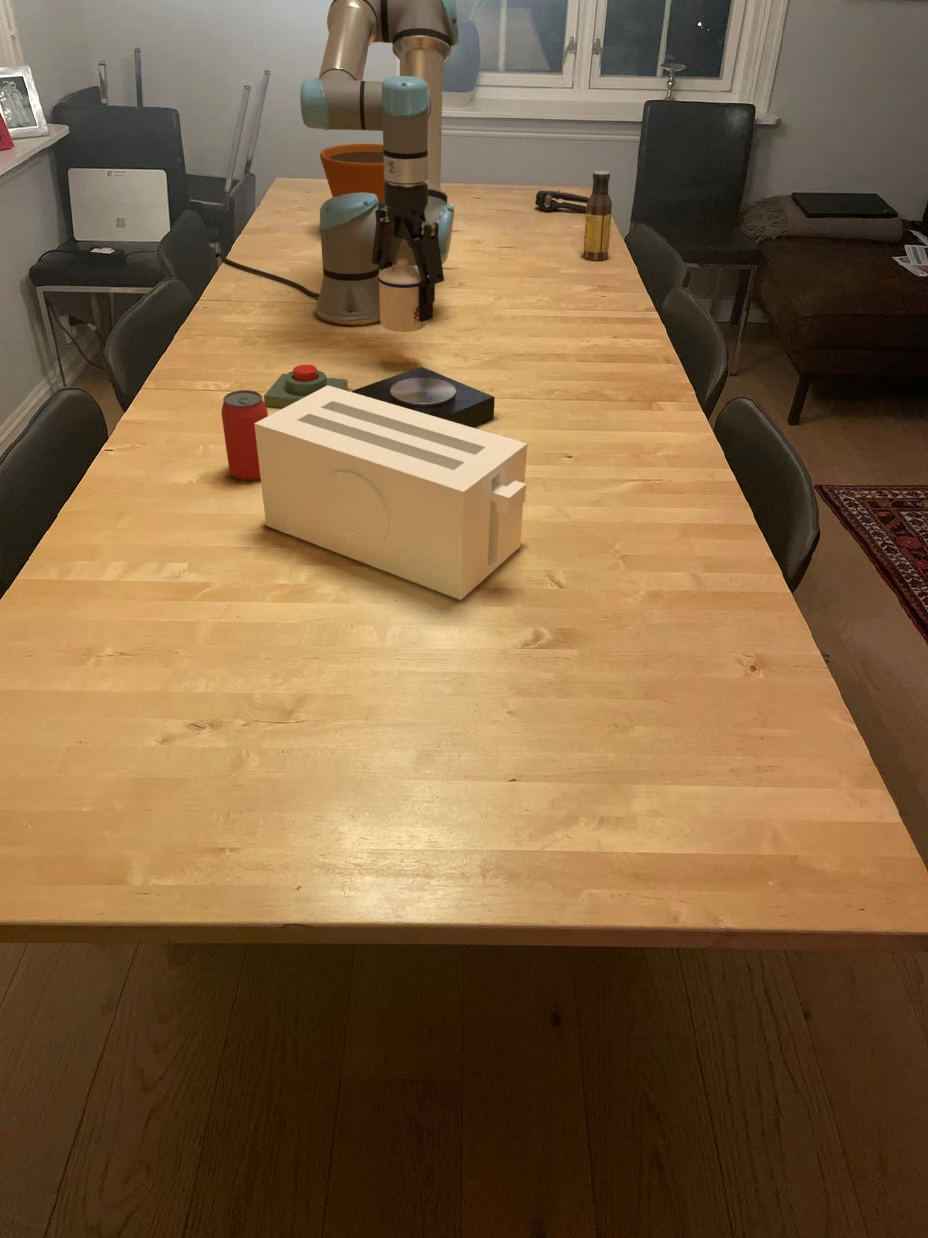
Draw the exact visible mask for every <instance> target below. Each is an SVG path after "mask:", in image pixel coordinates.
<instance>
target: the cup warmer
mask: <svg viewBox="0 0 928 1238" xmlns="http://www.w3.org/2000/svg"><path fill="white" fill-rule="evenodd" d="M351 392H353V393H356V394H359V395H363V396H366V397H370V398H373V399H376V400H380V401H383V402H387V403H390V404H394V405H397V406H400V407H404V408H407V409H411V410H414V411H417V412H421V413H424V414H428V415H431V416H434V417H438V418H441V419H445V420H448V421H451V422H455V423H458V424H462V425H465V426H468V427H472V428H475V427H477V426H481V425H483V424H484V423H487V422H489V421H492V420H494V419H495V398H496V397H495V396H494V395H492V394H489V393H487V392H484V391H481V390H479V389H477V388H475V387H472V386H469V385H467V384H464V383H462V382H460V381H457V380H455V379H452V378H450V377H448V376H446V375H443V374H441V373H438V372H436V371H433V370H431V369H429V368H426V367H424V366H418V367H415V368H412V369H410V370H407V371H404V372H402V373H398V374H395V375H392V376H390V377H387V378H383V379H382V380H378V381H375V382H373V383H370V384H366V385H364V386H362V387H359V388H356V389H353V390H351Z"/></svg>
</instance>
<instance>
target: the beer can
mask: <svg viewBox="0 0 928 1238" xmlns="http://www.w3.org/2000/svg"><path fill="white" fill-rule="evenodd" d="M222 400H223V403H222V407H221V412H220V413H221V420H222V427H223V435H224V442H225V443H224V444H225V449H226V450H225V451H226V457H227V464H228V471H229V473H230V475H232V476H233V477H234V478H237V479H239V480H243V481H255V480H261V477H260V468H259V460H258V451H257V442H256V433H255V425H254V423H256V422H258V421H260V420H262V419H264V418H266V417H268V416H269V412H268V408H267V407H266V406H265V402H264V399H263V395H262V394H261V393H260V392H257V391H255V390H250V389H239V390H233V391H231V392H228V393H226V394H225V395H224V396H223V399H222Z"/></svg>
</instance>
